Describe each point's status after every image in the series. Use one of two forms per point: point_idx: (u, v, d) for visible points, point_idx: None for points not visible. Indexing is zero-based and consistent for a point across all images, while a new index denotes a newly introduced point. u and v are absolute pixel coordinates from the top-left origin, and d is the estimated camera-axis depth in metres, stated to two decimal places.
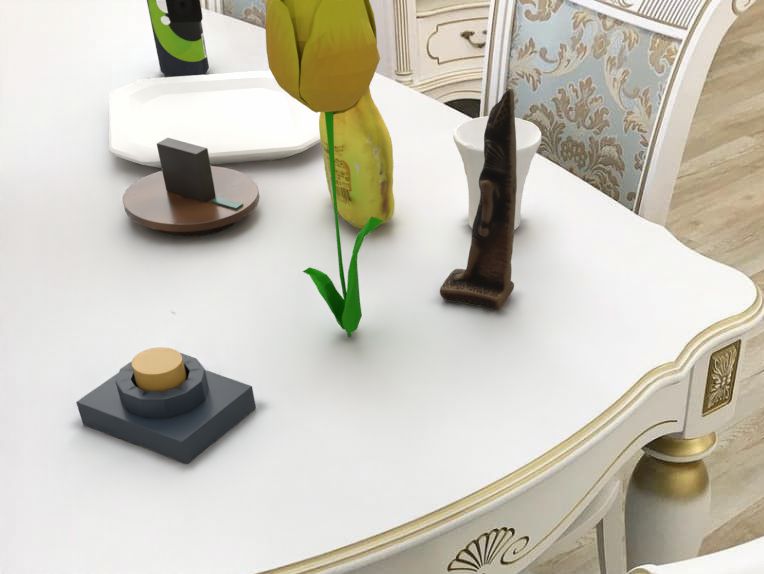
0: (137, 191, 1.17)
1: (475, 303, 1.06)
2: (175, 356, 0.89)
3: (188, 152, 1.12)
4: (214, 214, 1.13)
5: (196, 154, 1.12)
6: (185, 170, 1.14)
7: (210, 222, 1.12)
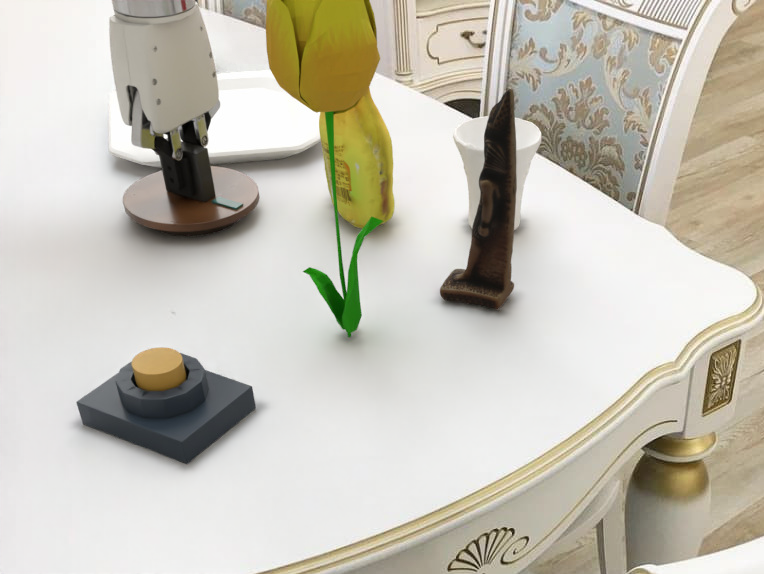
0: (137, 191, 1.17)
1: (475, 303, 1.06)
2: (175, 356, 0.89)
3: (188, 152, 1.12)
4: (214, 214, 1.13)
5: (196, 154, 1.12)
6: None
7: (210, 222, 1.12)
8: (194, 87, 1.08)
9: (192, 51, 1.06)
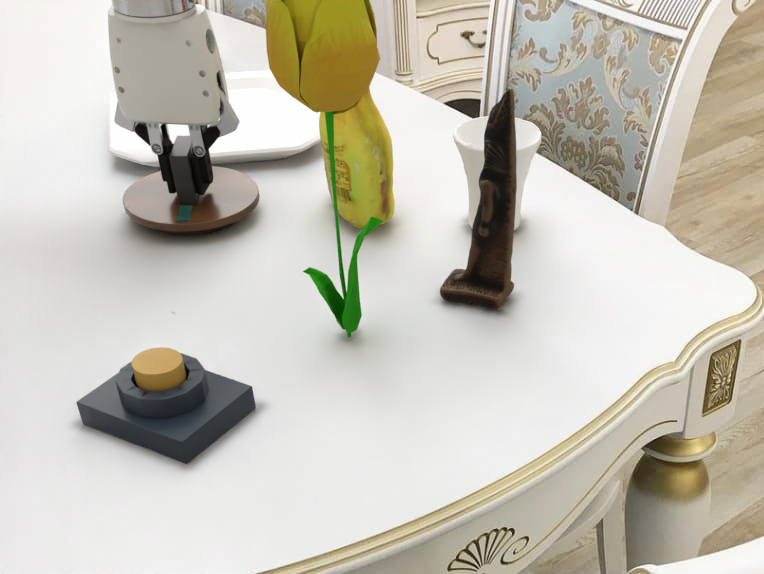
0: None
1: (475, 303, 1.06)
2: (175, 356, 0.89)
3: None
4: (158, 216, 1.13)
5: (170, 156, 1.11)
6: None
7: (144, 220, 1.12)
8: (171, 94, 1.07)
9: (169, 60, 1.05)
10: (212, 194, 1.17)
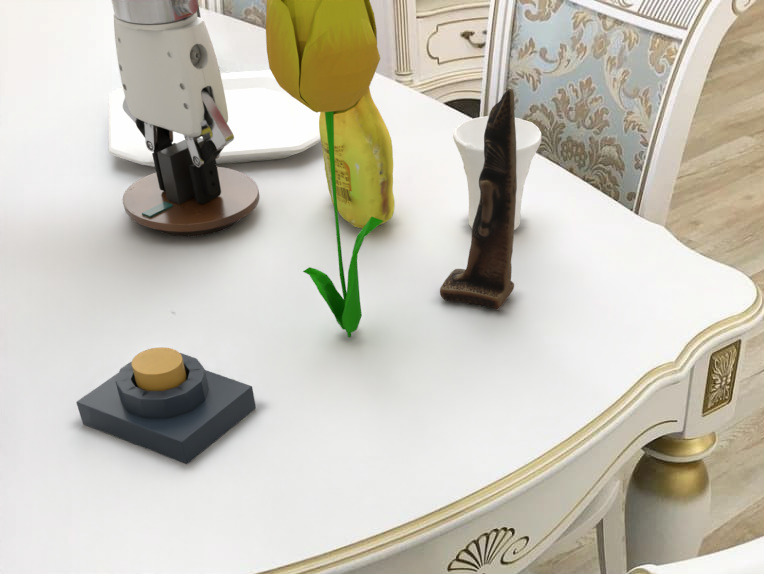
0: None
1: (475, 303, 1.06)
2: (175, 356, 0.89)
3: (164, 149, 1.12)
4: (137, 205, 1.15)
5: (157, 152, 1.12)
6: None
7: (123, 204, 1.15)
8: (159, 100, 1.07)
9: (155, 67, 1.05)
10: None
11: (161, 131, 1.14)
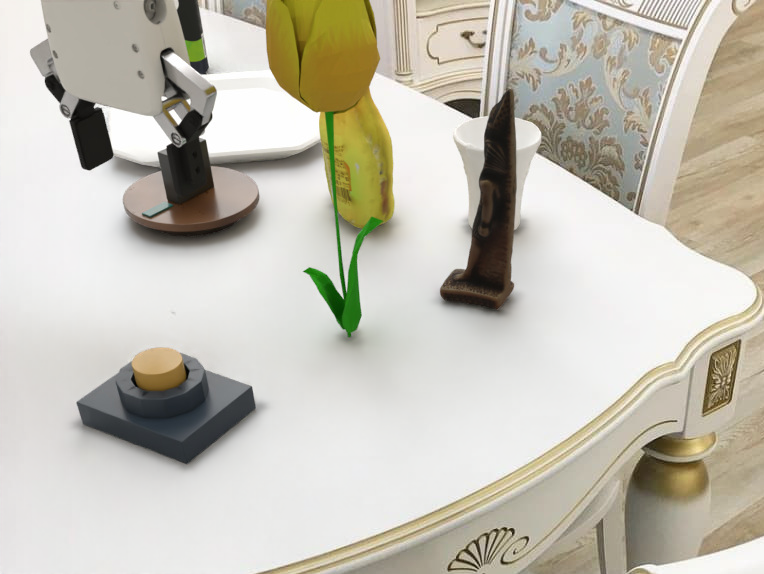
0: None
1: (475, 303, 1.06)
2: (175, 356, 0.89)
3: (164, 149, 1.12)
4: (137, 205, 1.15)
5: (157, 152, 1.12)
6: None
7: (123, 204, 1.15)
8: (104, 69, 0.82)
9: (97, 24, 0.79)
10: (205, 199, 1.16)
11: None
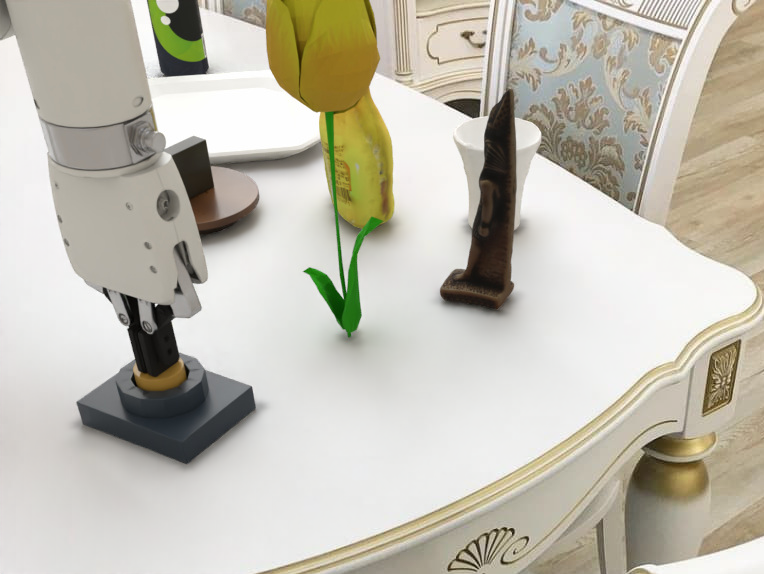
0: None
1: (475, 303, 1.06)
2: None
3: (164, 149, 1.12)
4: None
5: None
6: None
7: None
8: (116, 262, 0.80)
9: (109, 222, 0.78)
10: (205, 199, 1.16)
11: (134, 298, 0.86)
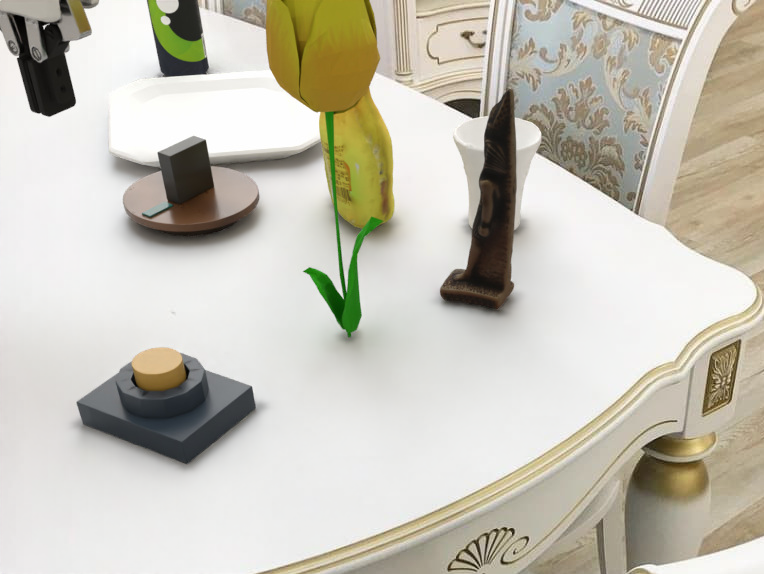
0: None
1: (475, 303, 1.06)
2: (175, 356, 0.89)
3: (164, 149, 1.12)
4: (137, 205, 1.15)
5: (157, 152, 1.12)
6: None
7: (123, 204, 1.15)
8: None
9: None
10: (205, 199, 1.16)
11: (26, 28, 0.83)
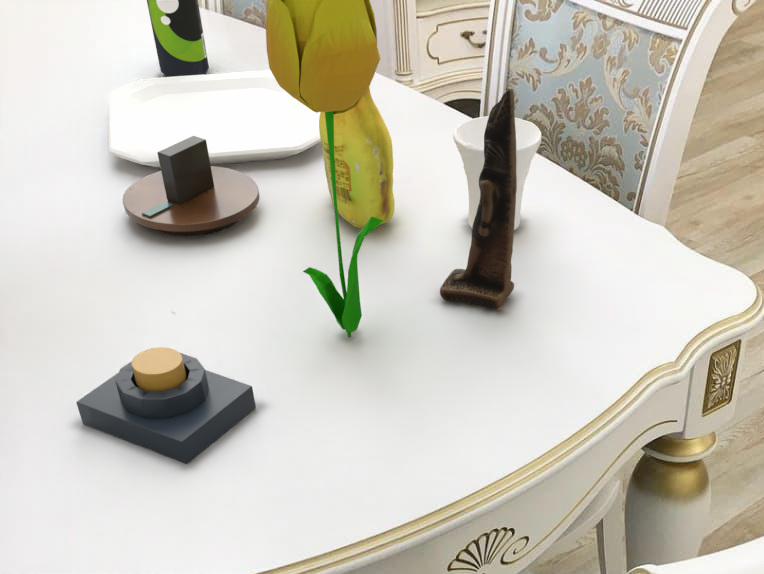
0: None
1: (475, 303, 1.06)
2: (175, 356, 0.89)
3: (164, 149, 1.12)
4: (137, 205, 1.15)
5: (157, 152, 1.12)
6: None
7: (123, 204, 1.15)
8: None
9: None
10: (205, 199, 1.16)
11: None
